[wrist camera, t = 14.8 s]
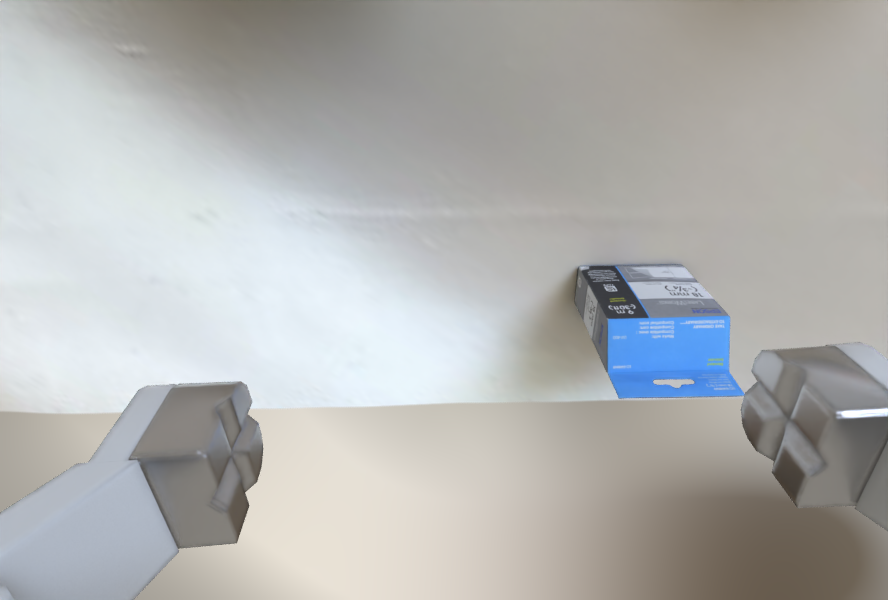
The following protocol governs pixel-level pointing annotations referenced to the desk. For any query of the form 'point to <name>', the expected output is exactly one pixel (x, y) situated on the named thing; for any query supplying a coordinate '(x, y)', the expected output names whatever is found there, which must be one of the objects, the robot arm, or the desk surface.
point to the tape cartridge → (656, 330)
